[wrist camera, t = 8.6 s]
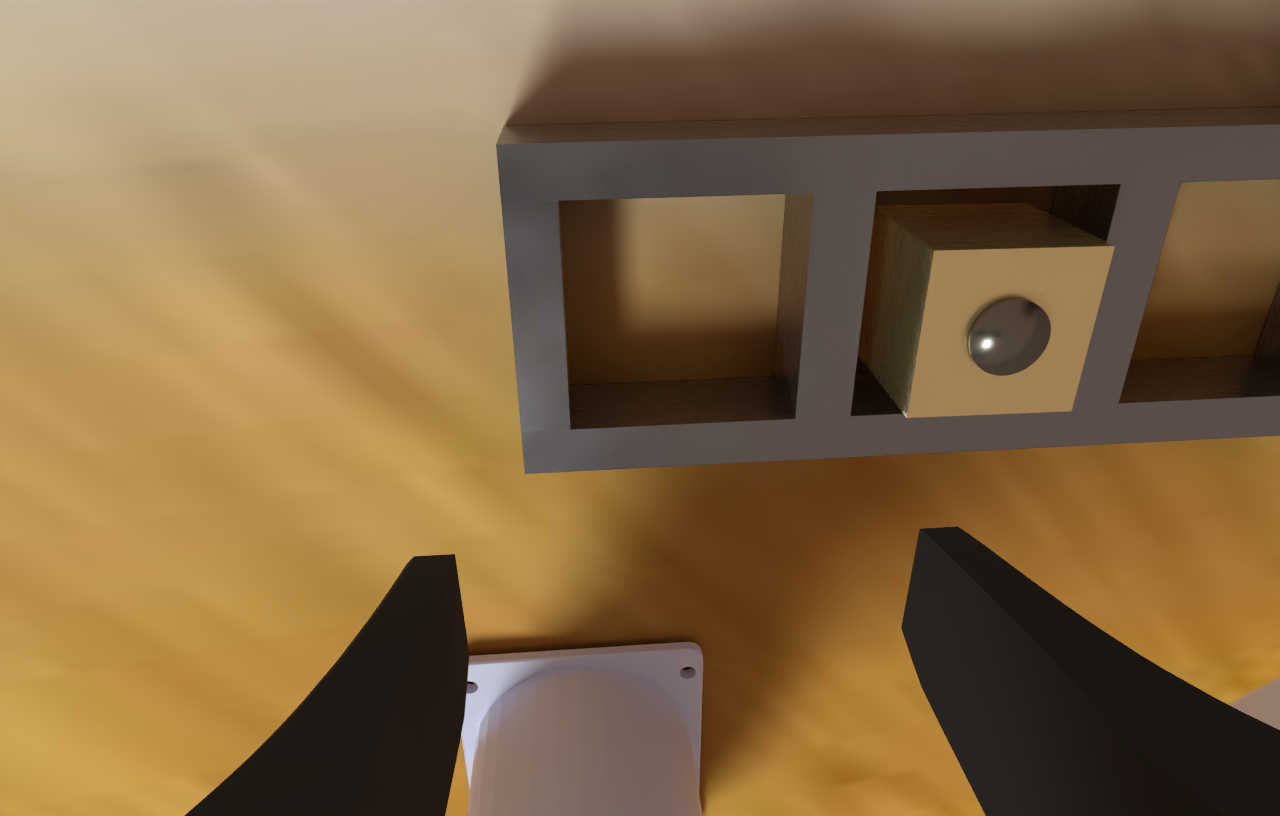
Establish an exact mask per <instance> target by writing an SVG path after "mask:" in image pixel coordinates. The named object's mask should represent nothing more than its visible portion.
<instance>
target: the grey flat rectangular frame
mask: <svg viewBox="0 0 1280 816" xmlns="http://www.w3.org/2000/svg"><path fill="white" fill-rule="evenodd" d="M496 147H497V159H498V170H499V182H500V193H501V205H502V216H503V228H504V239H505V251H506V262H507V274H508V285H509V297H510V308H511V319H512V331H513V342H514V354H515V365H516V377H517V388H518V400H519V411H520V423H521V434H522V446H523V457H524V469H525V474H532V473H552V472H571V471H591V470H611V469H630V468H650V467H670V466H689V465H709V464H729V463H748V462H768V461H788V460H807V459H827V458H847V457H866V456H886V455H906V454H925V453H945V452H965V451H984V450H1004V449H1024V448H1043V447H1063V446H1083V445H1102V444H1122V443H1142V442H1161V441H1181V440H1201V439H1220V438H1240V437H1260V436H1279V435H1280V285H1279V288H1278V290H1277V293H1276V296H1275V299H1274V302H1273V304H1272V307H1271V310H1270V313H1269V316H1268V319H1267V321H1266V324H1265V327H1264V330H1263V333H1262V335H1261V338H1260V341H1259V344H1258V347H1257V350H1256V352H1255V355H1252V356H1229V357H1206V358H1184V359H1161V360H1138V361H1130V360H1131V357H1132V353H1133V350H1134V346H1135V342H1136V339H1137V335H1138V332H1139V328H1140V325H1141V321H1142V318H1143V314H1144V311H1145V307H1146V303H1147V300H1148V296H1149V293H1150V289H1151V286H1152V282H1153V279H1154V275H1155V271H1156V268H1157V264H1158V261H1159V257H1160V254H1161V250H1162V247H1163V243H1164V239H1165V236H1166V232H1167V229H1168V225H1169V222H1170V218H1171V215H1172V211H1173V207H1174V204H1175V200H1176V197H1177V193H1178V190H1179V186H1180V183H1181V182H1201V181H1234V180H1268V179H1280V107H1258V108H1217V109H1175V110H1133V111H1091V112H1049V113H1008V114H966V115H924V116H882V117H841V118H799V119H757V120H715V121H673V122H632V123H590V124H548V125H506V126H504V127H503V129H502V132H501V134H500V137H499V139H498V141H497V144H496ZM1033 186H1057V189H1056V194H1055V199H1054V203H1053V208H1052V212H1051V215H1052V216H1054V217H1056V218H1058V219H1060V220H1062V221H1064V222H1067V223H1069V224H1071V225H1073V226H1075V227H1077V228H1079V229H1081V230H1083V231H1085V232H1087V233H1089V234H1091V235H1093V236H1095V237H1097V238H1100V239H1102V240H1104V241H1106V242H1108V243H1110V244H1112V245H1114V246H1115V248H1114V252H1113V256H1112V259H1111V263H1110V267H1109V271H1108V275H1107V278H1106V282H1105V286H1104V290H1103V294H1102V297H1101V301H1100V305H1099V309H1098V313H1097V316H1096V320H1095V324H1094V328H1093V332H1092V335H1091V339H1090V343H1089V347H1088V351H1087V354H1086V358H1085V362H1084V366H1083V370H1082V373H1081V377H1080V381H1079V385H1078V389H1077V392H1076V396H1075V400H1074V404H1073V408H1072V411H1067V412H1042V413H1017V414H992V415H968V416H943V417H918V418H906V416H905V415H904V414H903V412H902V411H901V410H900V409H899V407H898V406H897V405H896V403H895V402H894V401H893V400H892V398H891V397H890V396H889V394H888V393H887V392H886V391H885V389H884V388H883V387H882V385H881V384H880V383H879V382H878V380H877V379H876V378H875V377H874V375H873V374H872V373H871V372H867V373H856V364H857V356H858V347H859V339H860V330H861V322H862V313H863V305H864V296H865V288H866V279H867V271H868V262H869V254H870V245H871V237H872V228H873V220H874V211H875V203H876V194H877V191H899V190H933V189H966V188H1000V187H1033ZM765 194H786V198H785V212H784V227H783V242H782V256H781V271H780V286H779V300H778V315H777V330H776V344H775V359H774V374H773V377H754V378H731V379H709V380H686V381H663V382H641V383H618V384H596V385H573V386H570V375H569V357H568V339H567V321H566V303H565V284H564V266H563V248H562V230H561V212H560V201H564V200H598V199H631V198H665V197H698V196H732V195H765Z"/></svg>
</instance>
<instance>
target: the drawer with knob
mask: <svg viewBox="0 0 1280 816" xmlns="http://www.w3.org/2000/svg"><path fill="white" fill-rule="evenodd" d="M1114 248H1115V246H1114V245H1112V244H1110V243H1108V242H1106V241H1104V240H1102V239H1100V238H1097V237H1095V236H1093V235H1091V234H1089V233H1087V232H1085V231H1083V230H1081V229H1079V228H1077V227H1075V226H1073V225H1071V224H1069V223H1067V222H1064V221H1062V220H1060V219H1058V218H1056V217H1054V216H1052V215H1050V214H1048V213H1046V212H1044V211H1042V210H1040V209H1038V208H1036V207H1033V206H1031V205H1029V204H1027V203H993V204H946V205H900V206H875V211H874V220H873V228H872V237H871V245H870V254H869V262H868V271H867V279H866V288H865V296H864V305H863V313H862V322H861V330H860V339H859V347H858V356H859V357H860V359H861V360H862V361H863V362H864V364H865V365H866V366H867V368H868V369H869V370H870V371H871V373H872V374H873V375H874V377H875V378H876V379H877V380H878V382H879V383H880V384H881V385H882V387H883V388H884V389H885V391H886V392H887V393H888V394H889V396H890V397H891V398H892V400H893V401H894V402H895V403H896V405H897V406H898V407H899V409H900V410H901V411H902V412H903V414H904V415H905V416H906V418H918V417H943V416H968V415H992V414H1017V413H1042V412H1067V411H1072V408H1073V404H1074V400H1075V396H1076V392H1077V389H1078V385H1079V381H1080V377H1081V373H1082V370H1083V366H1084V362H1085V358H1086V354H1087V351H1088V347H1089V343H1090V339H1091V335H1092V332H1093V328H1094V324H1095V320H1096V316H1097V313H1098V309H1099V305H1100V301H1101V297H1102V294H1103V290H1104V286H1105V282H1106V278H1107V275H1108V271H1109V267H1110V263H1111V259H1112V256H1113V252H1114Z"/></svg>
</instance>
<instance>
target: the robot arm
mask: <svg viewBox="0 0 1280 816" xmlns="http://www.w3.org/2000/svg"><path fill="white" fill-rule="evenodd" d="M901 628H902V631H903V634H904V637H905V640H906V643H907V646H908V649H909V652H910V655H911V658H912V661H913V664H914V667H915V670H916V672H917V675H918V678H919V681H920V684H921V686H922V689H923V691H924V693H925V695H926V697H927V699H928V701H929V703H930V705H931V707H932V709H933V711H934V713H935V715H936V717H937V719H938V721H939V723H940V725H941V727H942V730H943V732H944V734H945V736H946V738H947V740H948V742H949V743H950V745H951V747H952V749H953V751H954V753H955V755H956V757H957V759H958V761H959V763H960V765H961V767H962V769H963V771H964V773H965V775H966V777H967V779H968V781H969V783H970V785H971V787H972V789H973V791H974V793H975V795H976V797H977V799H978V801H979V803H980V805H981V807H982V809H983V811H984V813H985V815H986V816H1280V730H1278V729H1276V728H1274V727H1272V726H1270V725H1268V724H1265V723H1263V722H1261V721H1259V720H1257V719H1255V718H1253V717H1251V716H1249V715H1247V714H1245V713H1243V712H1241V711H1239V710H1237V709H1235V708H1233V707H1231V706H1229V705H1227V704H1226V703H1224V702H1222V701H1220V700H1218V699H1216V698H1214V697H1212V696H1210V695H1209V694H1207V693H1205V692H1203V691H1202V690H1200V689H1198V688H1196V687H1194V686H1193V685H1191V684H1189V683H1187V682H1186V681H1184V680H1182V679H1180V678H1178V677H1177V676H1175V675H1173V674H1171V673H1170V672H1168V671H1166V670H1164V669H1163V668H1161V667H1159V666H1158V665H1156V664H1154V663H1153V662H1151V661H1149V660H1148V659H1146V658H1144V657H1143V656H1141V655H1140V654H1138V653H1136V652H1135V651H1133V650H1132V649H1130V648H1129V647H1127V646H1126V645H1124V644H1123V643H1121V642H1119V641H1118V640H1116V639H1115V638H1113V637H1112V636H1110V635H1109V634H1107V633H1106V632H1104V631H1102V630H1101V629H1099V628H1098V627H1096V626H1095V625H1094V624H1092V623H1091V622H1089V621H1088V620H1086V619H1085V618H1083V617H1082V616H1080V615H1079V614H1077V613H1076V612H1075V611H1073V610H1072V609H1070V608H1069V607H1068V606H1066V605H1065V604H1063V603H1062V602H1061V601H1059V600H1058V599H1056V598H1055V597H1054V596H1052V595H1051V594H1049V593H1048V592H1047V591H1045V590H1044V589H1043V588H1041V587H1040V586H1038V585H1037V584H1036V583H1034V582H1033V581H1032V580H1030V579H1029V578H1028V577H1026V576H1025V575H1024V574H1022V573H1021V572H1020V571H1018V570H1017V569H1016V568H1014V567H1013V566H1011V565H1010V564H1009V563H1007V562H1006V561H1005V560H1003V559H1002V558H1001V557H999V556H998V555H997V554H995V553H994V552H993V551H991V550H990V549H989V548H987V547H986V546H985V545H983V544H982V543H981V542H979V541H978V540H976V539H975V538H974V537H972V536H971V535H969V534H968V533H966V532H965V531H964V530H962V529H961V528H959V527H944V528H926V529H920V531H919V536H918V542H917V547H916V552H915V558H914V563H913V568H912V574H911V579H910V585H909V590H908V595H907V601H906V606H905V611H904V617H903V622H902V627H901ZM685 667H692V668H691V669H688V670H682V669H683V668H685ZM468 681H470V682H474V683H475V684H467V682H468ZM702 686H703V655H702V650H701V648H700V647H699V645H698V644H695V643H693V642H677V643H661V644H646V645H630V646H615V647H599V648H584V649H568V650H553V651H537V652H522V653H506V654H491V655H475V656H469V649H468V642H467V635H466V628H465V621H464V614H463V607H462V601H461V594H460V587H459V580H458V573H457V566H456V559H455V554H451V555H433V556H415V557H413V558H412V559H411V560H410V561H409V562H408V563H407V565H406V566H405V568H404V569H403V571H402V572H401V574H400V575H399V577H398V578H397V580H396V581H395V583H394V584H393V586H392V587H391V589H390V590H389V592H388V593H387V595H386V596H385V597H384V599H383V600H382V602H381V603H380V605H379V606H378V607H377V609H376V610H375V612H374V613H373V614H372V616H371V617H370V619H369V620H368V621H367V623H366V624H365V625H364V627H363V628H362V629H361V631H360V632H359V633H358V634H357V636H356V637H355V638H354V640H353V641H352V642H351V644H350V645H349V646H348V648H347V649H346V650H345V652H344V653H343V654H342V655H341V657H340V658H339V659H338V660H337V662H336V663H335V664H334V665H333V667H332V668H331V669H330V670H329V671H328V672H327V674H326V675H325V676H324V677H323V678H322V680H321V681H320V682H319V683H318V684H317V685H316V687H315V688H314V689H313V690H312V691H311V692H310V694H309V695H308V696H307V697H306V698H305V700H304V701H303V702H302V703H301V704H300V705H299V706H298V707H297V709H296V710H295V711H294V712H293V713H292V714H291V715H290V716H289V717H288V718H287V719H286V721H285V722H284V723H283V724H282V725H281V726H280V727H279V728H278V729H277V730H276V731H275V732H274V733H273V734H272V735H271V736H270V737H269V738H268V739H267V740H266V741H265V742H264V743H263V744H262V745H261V746H260V747H259V748H258V749H257V750H256V751H255V752H254V753H253V754H252V755H251V756H250V757H249V758H248V759H247V760H246V761H245V762H244V763H243V764H242V765H241V766H240V767H239V768H238V769H236V770H235V771H234V772H233V773H232V774H231V775H230V776H229V777H228V778H227V779H226V780H224V781H223V782H222V783H221V784H220V785H219V786H218V787H217V788H216V789H215V790H213V791H212V792H211V793H210V794H209V795H208V796H207V797H205V798H204V799H203V800H202V801H201V802H200V803H199V804H197V805H196V806H195V807H194V808H193V809H192V810H191V811H189V812H188V813H187V814H186V815H185V816H445V813H446V808H447V803H448V798H449V793H450V788H451V783H452V778H453V773H454V768H455V763H456V758H457V753H458V748H459V743H460V738H461V737H462V743H463V750H464V756H465V763H466V769H467V776H468V782H469V789H470V794H469V802H468V811H467V816H703V815H702V809H701V802H700V796H699V782H700V750H701V718H702Z"/></svg>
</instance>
